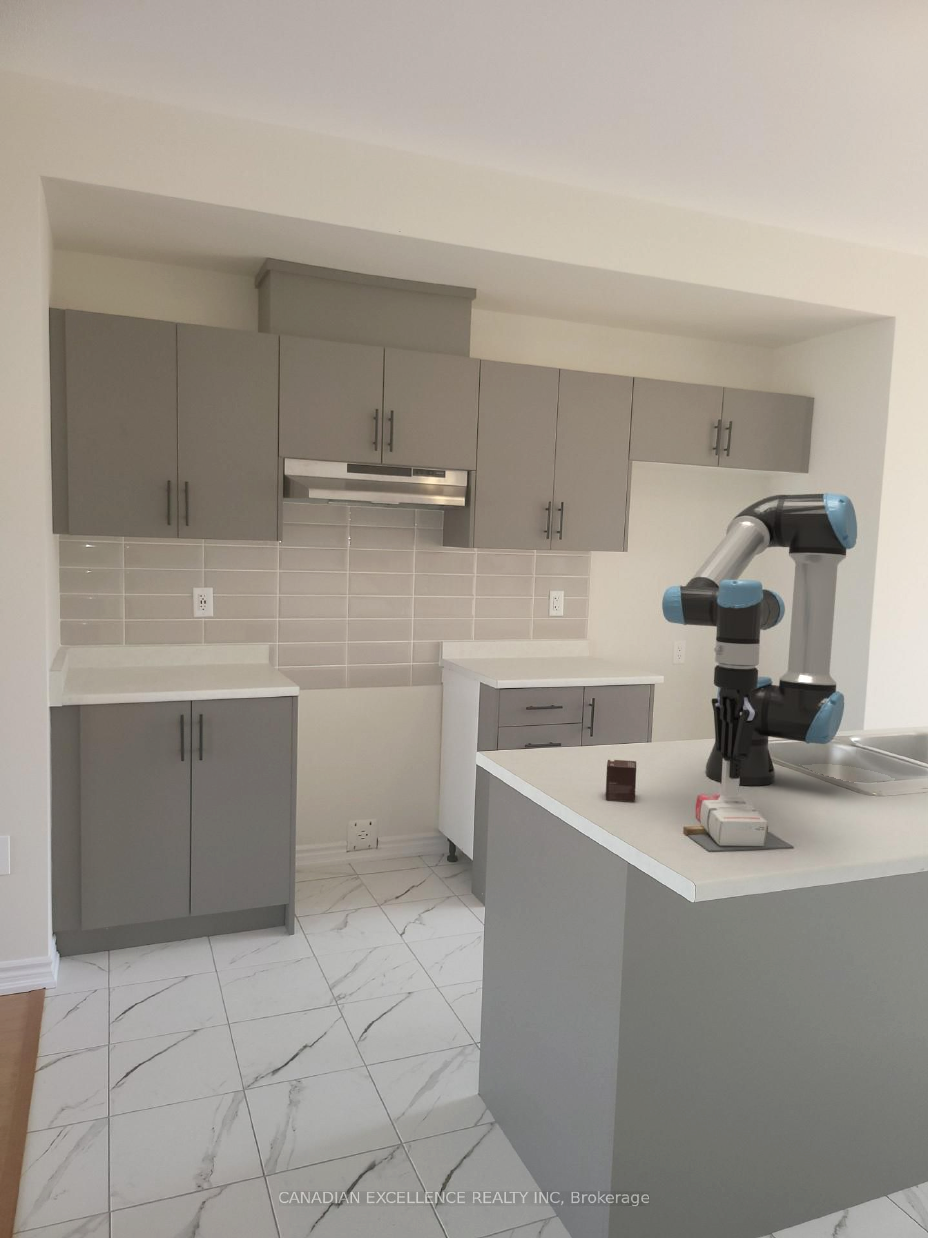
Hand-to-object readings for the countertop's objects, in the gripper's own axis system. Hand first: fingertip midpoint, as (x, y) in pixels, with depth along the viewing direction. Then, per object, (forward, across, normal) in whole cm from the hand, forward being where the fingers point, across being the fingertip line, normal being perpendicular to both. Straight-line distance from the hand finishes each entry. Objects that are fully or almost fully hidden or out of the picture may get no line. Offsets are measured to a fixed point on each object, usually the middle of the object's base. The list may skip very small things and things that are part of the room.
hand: (729, 794), depth 158 cm
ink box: (+3, -4, 0) cm, 5 cm away
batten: (+7, -1, 0) cm, 7 cm away
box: (+8, -25, -11) cm, 28 cm away
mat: (+7, +4, 0) cm, 9 cm away
